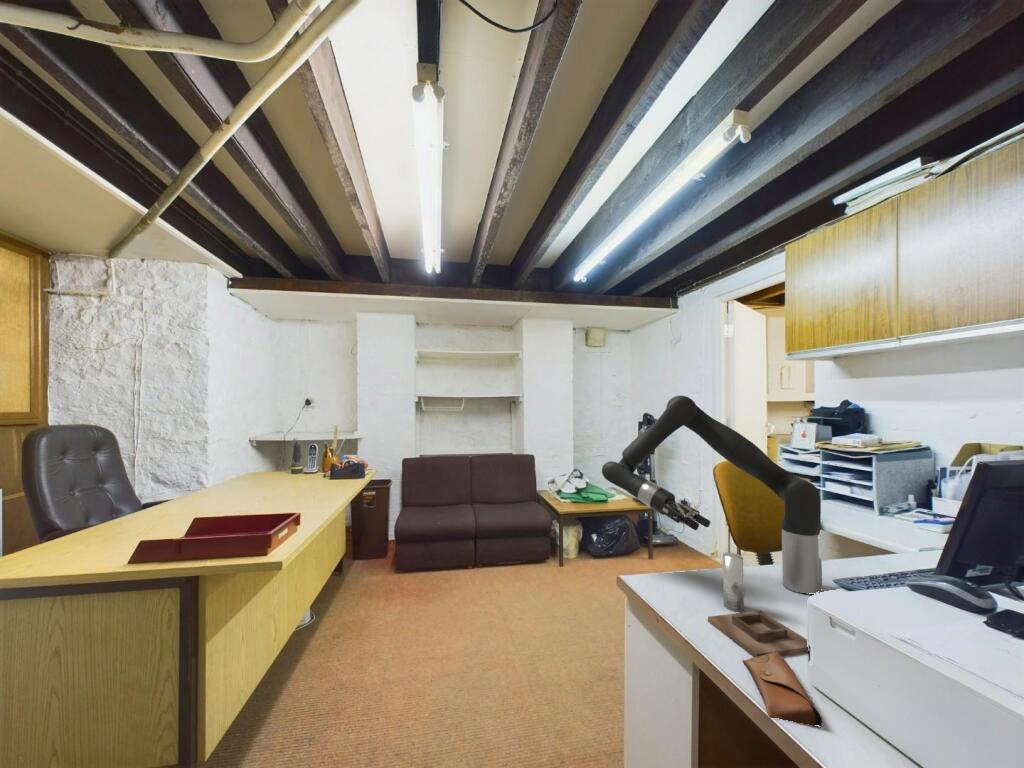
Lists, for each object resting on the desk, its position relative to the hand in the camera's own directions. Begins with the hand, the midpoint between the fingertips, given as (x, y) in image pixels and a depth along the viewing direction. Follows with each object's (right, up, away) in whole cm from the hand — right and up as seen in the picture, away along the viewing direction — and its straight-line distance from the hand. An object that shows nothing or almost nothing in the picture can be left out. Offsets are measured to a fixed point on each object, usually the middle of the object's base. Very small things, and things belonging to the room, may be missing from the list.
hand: (703, 526), depth 120 cm
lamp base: (+3, -19, -21) cm, 29 cm away
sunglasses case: (-4, -19, -40) cm, 44 cm away
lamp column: (+5, -20, -8) cm, 22 cm away
